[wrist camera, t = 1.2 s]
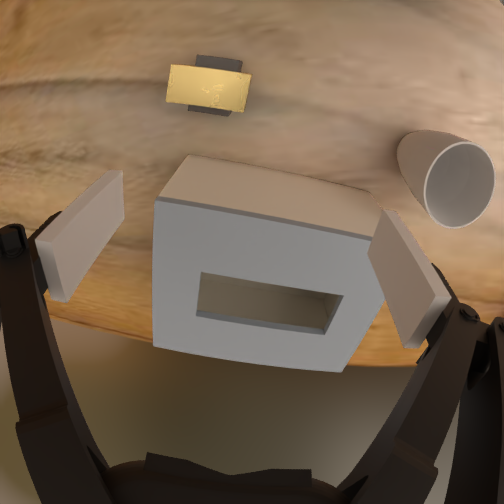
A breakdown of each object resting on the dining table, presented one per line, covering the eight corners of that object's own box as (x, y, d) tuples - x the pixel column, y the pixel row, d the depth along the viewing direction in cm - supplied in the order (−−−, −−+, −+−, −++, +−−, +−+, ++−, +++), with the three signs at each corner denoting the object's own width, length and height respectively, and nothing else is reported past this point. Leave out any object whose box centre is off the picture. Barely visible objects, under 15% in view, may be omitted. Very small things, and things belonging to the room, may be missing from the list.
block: (206, 56, 27) (197, 54, 22) (242, 61, 27) (239, 60, 23) (198, 103, 29) (187, 110, 25) (233, 109, 29) (228, 116, 25)
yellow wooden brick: (180, 64, 23) (171, 64, 20) (252, 74, 23) (251, 74, 21) (175, 97, 24) (165, 101, 22) (245, 107, 25) (243, 112, 22)
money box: (188, 154, 32) (154, 200, 22) (369, 191, 34) (410, 250, 24) (176, 275, 41) (153, 345, 31) (326, 300, 42) (341, 372, 32)
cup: (384, 189, 34) (420, 233, 25) (382, 118, 29) (425, 142, 21) (443, 184, 33) (489, 224, 24) (446, 117, 28) (499, 142, 20)
